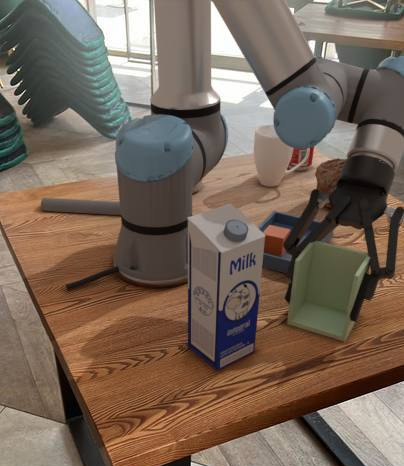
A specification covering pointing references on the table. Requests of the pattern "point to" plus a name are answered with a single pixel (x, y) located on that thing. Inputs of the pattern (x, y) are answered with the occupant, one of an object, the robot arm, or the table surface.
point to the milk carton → (223, 284)
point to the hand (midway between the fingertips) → (320, 310)
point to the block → (275, 240)
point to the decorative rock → (328, 176)
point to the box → (326, 288)
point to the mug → (272, 156)
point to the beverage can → (301, 158)
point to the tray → (288, 223)
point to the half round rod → (81, 206)
